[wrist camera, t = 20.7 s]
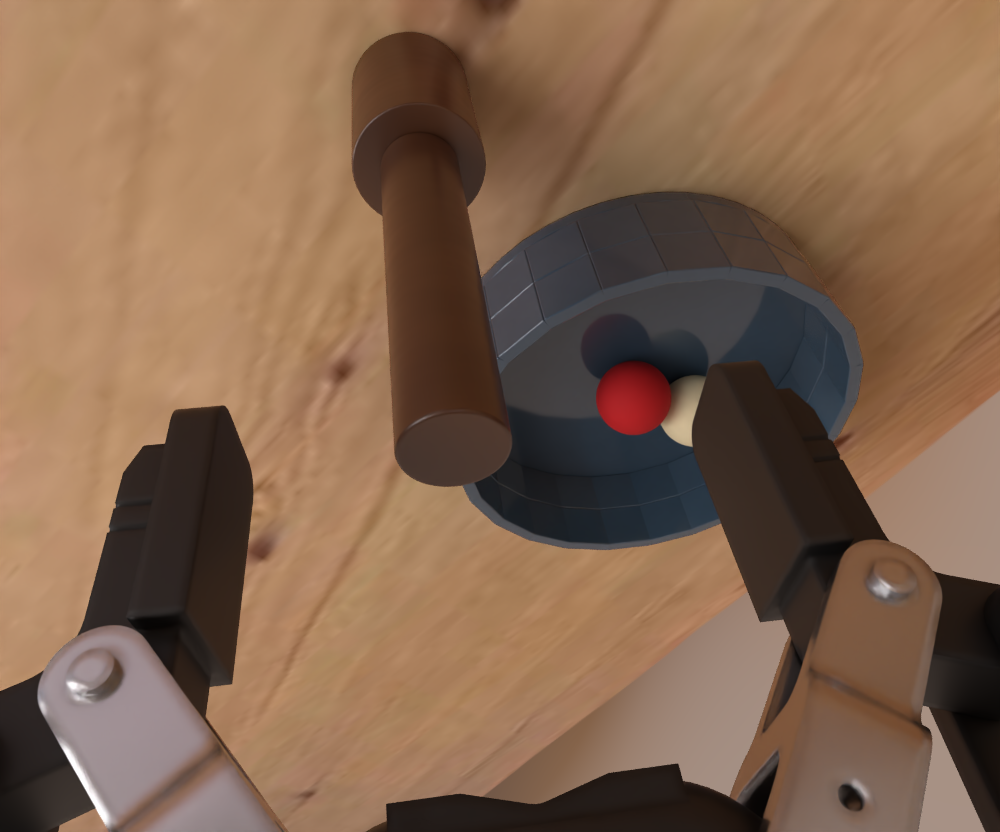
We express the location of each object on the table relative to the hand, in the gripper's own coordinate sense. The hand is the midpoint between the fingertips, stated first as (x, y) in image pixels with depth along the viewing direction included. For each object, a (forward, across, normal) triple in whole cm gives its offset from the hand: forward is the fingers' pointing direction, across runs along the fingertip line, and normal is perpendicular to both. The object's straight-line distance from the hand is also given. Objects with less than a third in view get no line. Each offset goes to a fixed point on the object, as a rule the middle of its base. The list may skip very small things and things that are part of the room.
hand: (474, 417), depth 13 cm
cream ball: (+11, -10, +14) cm, 20 cm away
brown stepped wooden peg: (+14, 0, 0) cm, 14 cm away
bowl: (+13, -8, +12) cm, 20 cm away
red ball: (+11, -7, +12) cm, 18 cm away
